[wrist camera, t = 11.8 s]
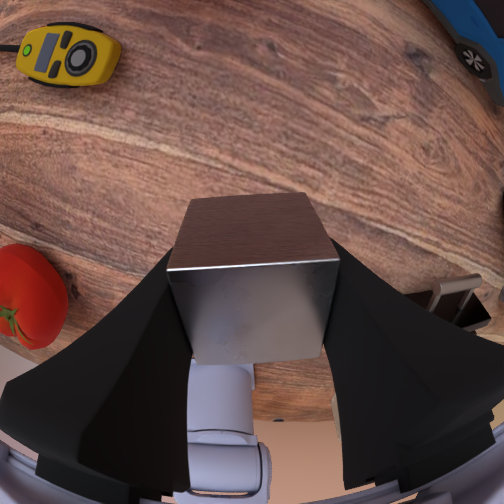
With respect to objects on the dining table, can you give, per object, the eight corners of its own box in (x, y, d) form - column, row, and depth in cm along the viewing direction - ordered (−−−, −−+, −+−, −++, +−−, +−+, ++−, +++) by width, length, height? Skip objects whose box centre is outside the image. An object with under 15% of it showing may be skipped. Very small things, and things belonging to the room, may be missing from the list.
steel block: (206, 286, 12) (196, 366, 8) (190, 198, 9) (164, 269, 6) (300, 280, 12) (320, 358, 8) (305, 191, 9) (341, 258, 6)
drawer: (394, 261, 22) (424, 308, 17) (480, 253, 22) (510, 287, 17) (350, 374, 32) (360, 411, 27) (424, 357, 32) (437, 388, 28)
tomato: (90, 270, 22) (56, 332, 16) (65, 323, 26) (43, 373, 20) (10, 208, 18) (-38, 254, 11) (1, 274, 22) (-30, 317, 16)
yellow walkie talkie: (91, 99, 12) (-29, 75, 8) (105, 97, 14) (-15, 72, 10) (122, 28, 10) (-13, 22, 6) (133, 32, 12) (1, 22, 7)
